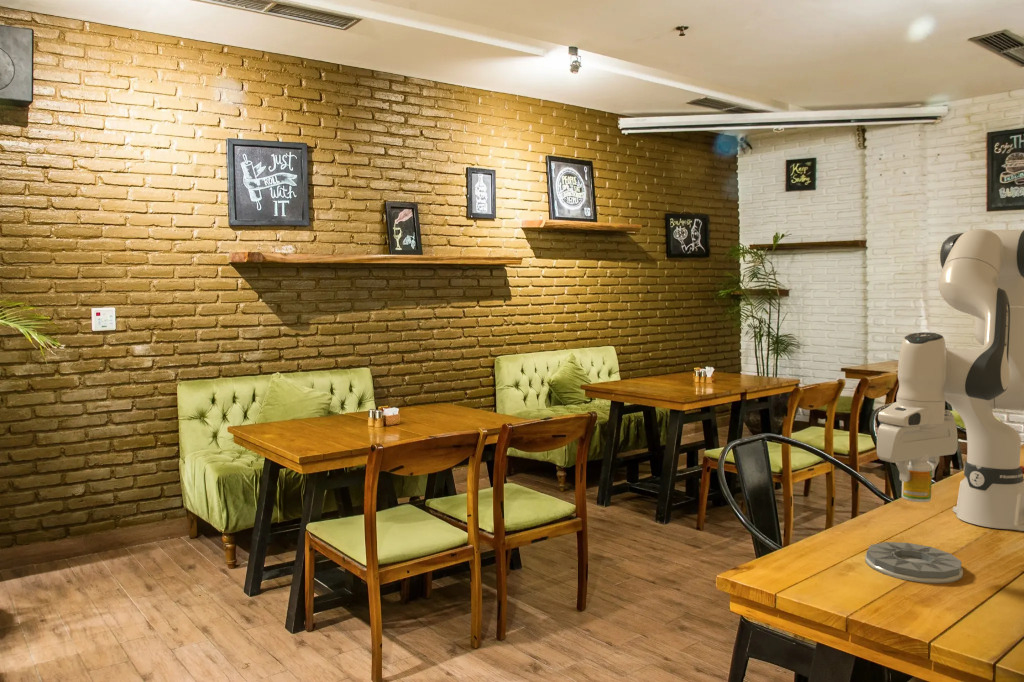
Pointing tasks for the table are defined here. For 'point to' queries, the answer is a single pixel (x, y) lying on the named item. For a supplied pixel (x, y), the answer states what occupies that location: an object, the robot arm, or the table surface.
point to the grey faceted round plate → (914, 562)
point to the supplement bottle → (918, 481)
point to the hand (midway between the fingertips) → (916, 479)
